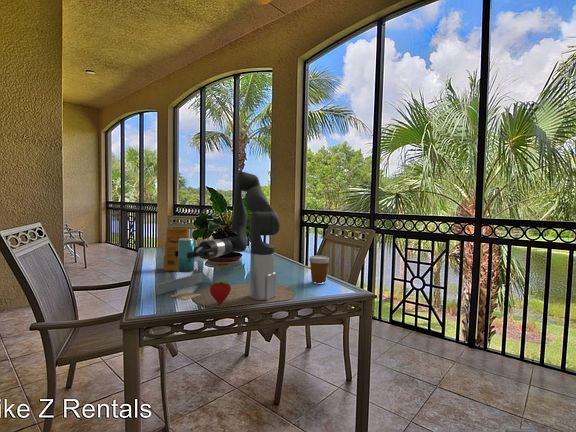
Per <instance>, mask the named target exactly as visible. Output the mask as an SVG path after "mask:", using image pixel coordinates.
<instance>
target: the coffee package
mask: <svg viewBox="0 0 576 432" xmlns="http://www.w3.org/2000/svg"><path fill="white" fill-rule="evenodd" d="M165 235H166V236H165V237H166V238H165V245H164V248H165V249H164V256H163V271H164V272H178V257H175V251H177V250H178V240H179V239H181V238H189V228H188V227H185V228H172V227H167V228H166V234H165ZM178 273H179V272H178Z"/></svg>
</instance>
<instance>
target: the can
mask: <svg viewBox="0 0 576 432" xmlns="http://www.w3.org/2000/svg"><path fill="white" fill-rule="evenodd" d="M194 246H195V239H194V238H192V237H191V238H190V237H188V238H181V239H179V240H178V273H181V274H182V273H184V274H185V273H187V274H188V273H193V272H194V271H195V258H190V259H188V258H187V253H189V252H194Z"/></svg>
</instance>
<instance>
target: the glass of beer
mask: <svg viewBox="0 0 576 432" xmlns="http://www.w3.org/2000/svg"><path fill="white" fill-rule="evenodd" d="M308 260H309V265H310V275H311V276H310V277H311V283H312V282H316V283H322V282H325V281H327V275H328V268H329V263H330V258H329V257H328V256H327V255H326V256H325V255H311V256H310V257H309V259H308Z"/></svg>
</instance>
